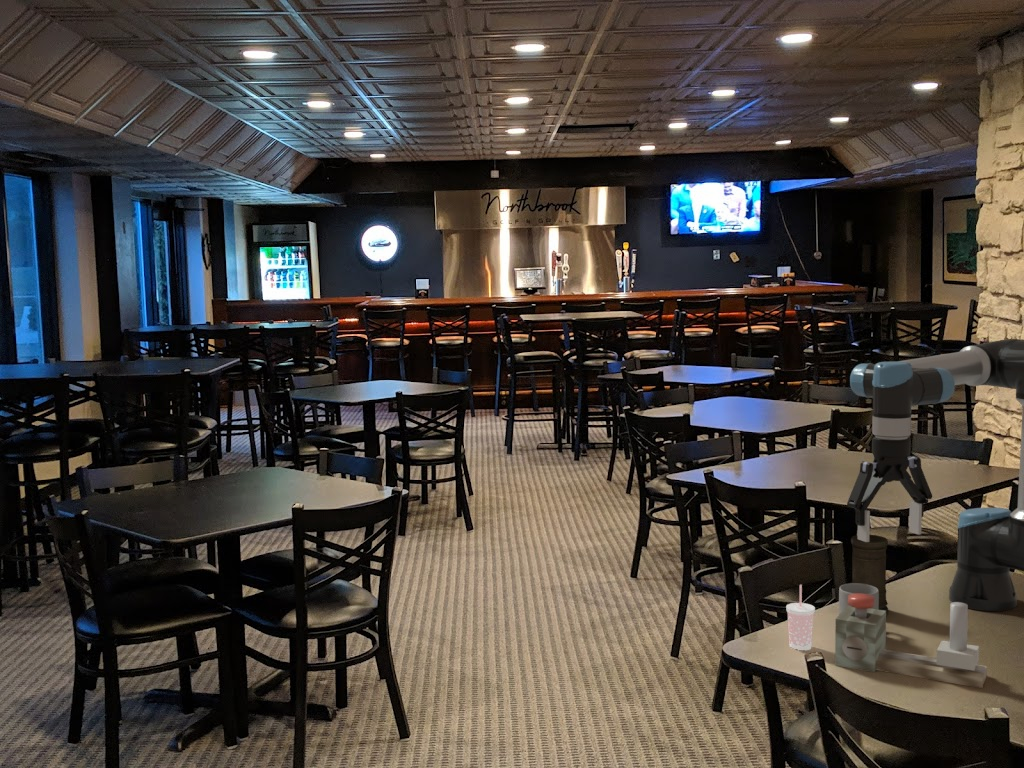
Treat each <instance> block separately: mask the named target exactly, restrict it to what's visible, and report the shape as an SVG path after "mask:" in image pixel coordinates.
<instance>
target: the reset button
mask: <svg viewBox="0 0 1024 768" xmlns="http://www.w3.org/2000/svg"><path fill="white" fill-rule="evenodd" d="M848 605H849V606H851V607H854V608H855V617H860V618H866V619H867V609H868V608H873V607H874V597H873V596H871V595H868V594H861V593H855V594H850V595H849V596H848Z"/></svg>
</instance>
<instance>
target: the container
mask: <svg viewBox="0 0 1024 768" xmlns="http://www.w3.org/2000/svg"><path fill="white" fill-rule="evenodd" d="M850 543H851V547H852V548H851V549H852V554H851V557H852V560H851V564H852V565H851V573H852V574H851V580H852V581H851V583H859V584H867V585H871V586H874V587H876V588H877V589H878V591H879V610H885V611H886V615H888V612H889V608H888V604H889V603H888V600H887V588H886V587H887V585H886V584H887V583H886V581H887V574H886V573H887V554H886V553H887V552H886V551H887V549H888V544H889V540H888V539H887V538H886V537H884V536H881V535H876V534H869V542H864V541H861V540H858V534H856V535H853V536H851V538H850Z"/></svg>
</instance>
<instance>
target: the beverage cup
mask: <svg viewBox="0 0 1024 768" xmlns="http://www.w3.org/2000/svg"><path fill="white" fill-rule="evenodd" d="M802 586H803V584H799V599H798V600H799V602H791V603H787V604H786V606H785V608H786V609H785V610H786V612H787V625H788V626H787V627H788V641H789V643H788V644H789V648H790V647H792V648H794V649H798V650H797V651H799V650H805V651H809V650H811V649H812V641H813V626H814V615H815V612H816V607H815V606H814V605H812V604H810V603H805V602H802V601H803V599H802V598H803V596H802V595H803V594H802V593H803V587H802ZM792 648H791V649H792ZM794 649H793V650H794Z"/></svg>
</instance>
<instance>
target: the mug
mask: <svg viewBox="0 0 1024 768" xmlns="http://www.w3.org/2000/svg"><path fill="white" fill-rule="evenodd" d="M855 593H861V594H868V595H871V596H873V597H874V607H873V608H871V609H878V610H879V591H878V589H877V588H876V587H874V586H871V585H867V584H859V583H852V582H850V583H845V584H842V585H840V586H839V590H838V615H839V614H840V613H841V612H842V611H843V610H844V609H845V607H846V606H847V605H848V596H849V595H850V594H855Z"/></svg>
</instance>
